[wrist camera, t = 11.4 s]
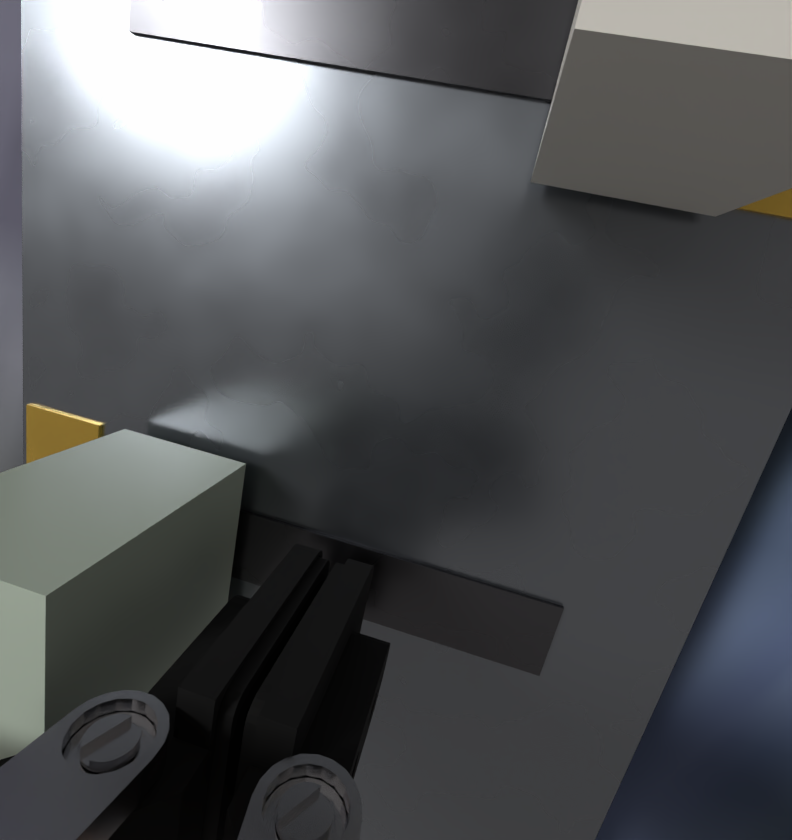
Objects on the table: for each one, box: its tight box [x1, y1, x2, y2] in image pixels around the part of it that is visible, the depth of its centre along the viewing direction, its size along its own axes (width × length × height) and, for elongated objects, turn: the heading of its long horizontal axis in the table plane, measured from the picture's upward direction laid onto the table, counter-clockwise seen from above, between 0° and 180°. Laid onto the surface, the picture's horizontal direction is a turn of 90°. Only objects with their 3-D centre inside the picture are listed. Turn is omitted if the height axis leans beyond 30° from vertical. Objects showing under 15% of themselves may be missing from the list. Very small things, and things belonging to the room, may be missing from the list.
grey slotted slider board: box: [21, 0, 792, 840], centre depth 13 cm, size 16×34×3 cm, turn 168°
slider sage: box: [0, 429, 246, 760], centre depth 9 cm, size 3×4×5 cm, turn 168°
